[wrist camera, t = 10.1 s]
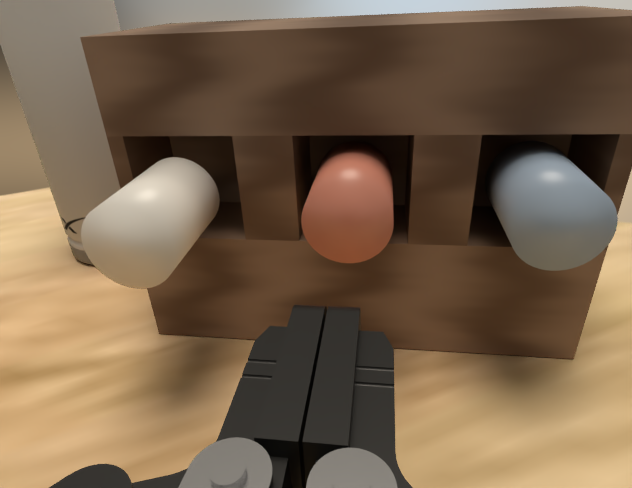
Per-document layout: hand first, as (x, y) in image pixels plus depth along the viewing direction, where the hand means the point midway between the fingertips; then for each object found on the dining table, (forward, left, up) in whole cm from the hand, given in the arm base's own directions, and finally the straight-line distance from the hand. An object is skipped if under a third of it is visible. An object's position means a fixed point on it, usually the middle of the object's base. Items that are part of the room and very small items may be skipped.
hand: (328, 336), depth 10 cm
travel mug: (-17, +18, -8) cm, 26 cm away
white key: (-7, +6, -2) cm, 9 cm away
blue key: (+7, +8, -2) cm, 11 cm away
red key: (0, +8, -2) cm, 9 cm away
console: (0, +13, -8) cm, 15 cm away
